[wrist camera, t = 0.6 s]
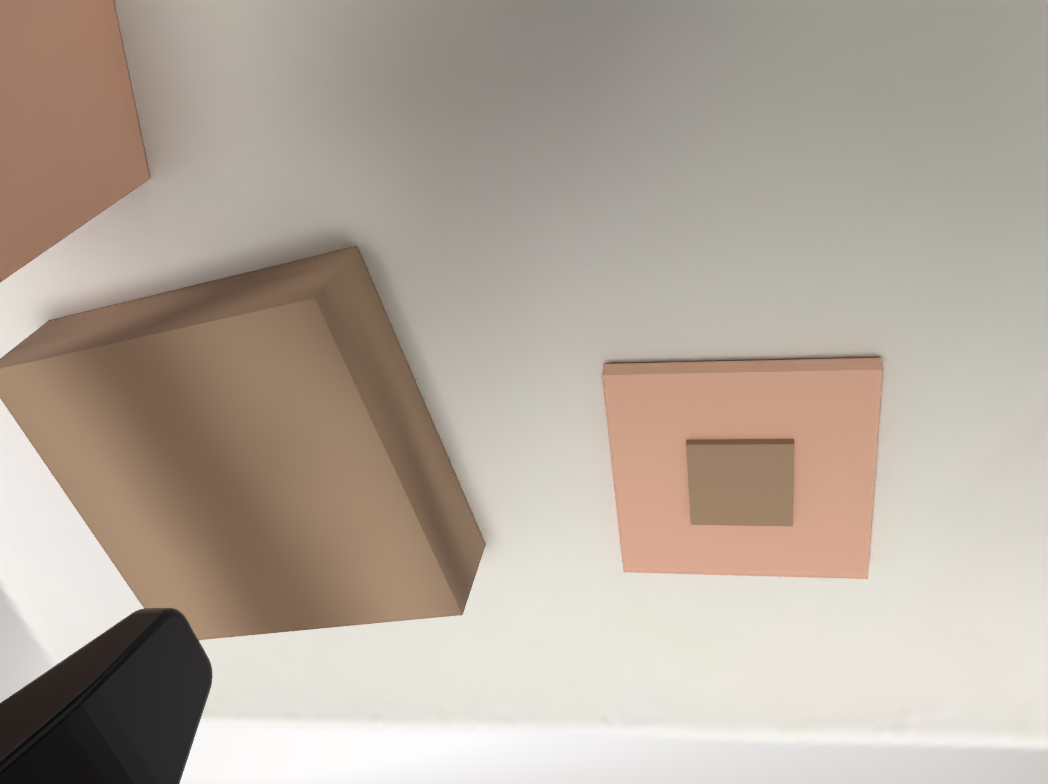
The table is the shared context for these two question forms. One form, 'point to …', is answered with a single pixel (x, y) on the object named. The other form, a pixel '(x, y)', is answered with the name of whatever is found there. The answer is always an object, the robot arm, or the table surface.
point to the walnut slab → (252, 451)
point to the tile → (745, 465)
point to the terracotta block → (62, 123)
